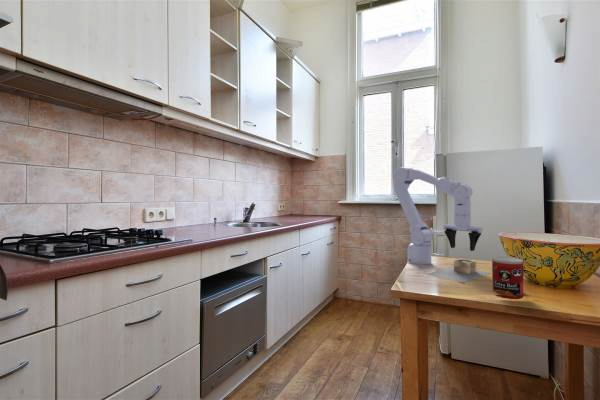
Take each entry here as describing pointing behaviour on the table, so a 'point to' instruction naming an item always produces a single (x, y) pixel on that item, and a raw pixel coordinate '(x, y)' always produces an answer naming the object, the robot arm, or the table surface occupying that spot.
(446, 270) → the board
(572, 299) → the table surface
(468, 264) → the collar
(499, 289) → the canned food
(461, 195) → the robot arm
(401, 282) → the table surface
